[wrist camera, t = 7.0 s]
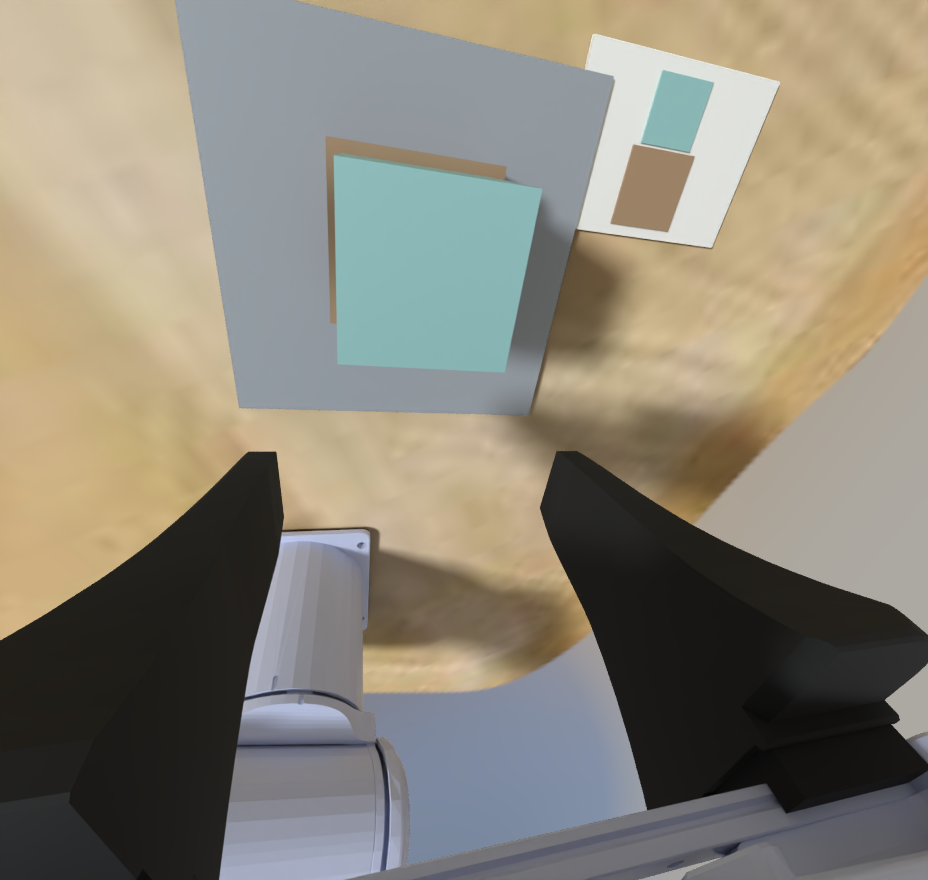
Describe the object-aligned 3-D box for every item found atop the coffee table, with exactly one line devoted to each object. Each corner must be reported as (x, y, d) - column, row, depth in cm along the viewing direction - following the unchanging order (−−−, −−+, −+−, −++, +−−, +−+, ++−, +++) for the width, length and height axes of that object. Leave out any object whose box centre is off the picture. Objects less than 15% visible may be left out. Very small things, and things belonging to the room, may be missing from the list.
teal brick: (468, 316, 16) (504, 372, 12) (343, 306, 15) (337, 364, 11) (489, 177, 14) (542, 188, 10) (342, 152, 13) (333, 154, 9)
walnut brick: (464, 310, 19) (479, 333, 17) (334, 299, 18) (330, 323, 15) (484, 163, 16) (506, 166, 14) (331, 138, 15) (325, 135, 12)
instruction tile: (708, 247, 20) (713, 248, 20) (549, 224, 18) (552, 226, 18) (776, 82, 17) (782, 81, 17) (592, 34, 15) (596, 32, 15)
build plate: (526, 411, 23) (528, 415, 23) (241, 403, 20) (238, 407, 20) (608, 77, 16) (614, 76, 15) (175, -25, 12) (170, -29, 12)
